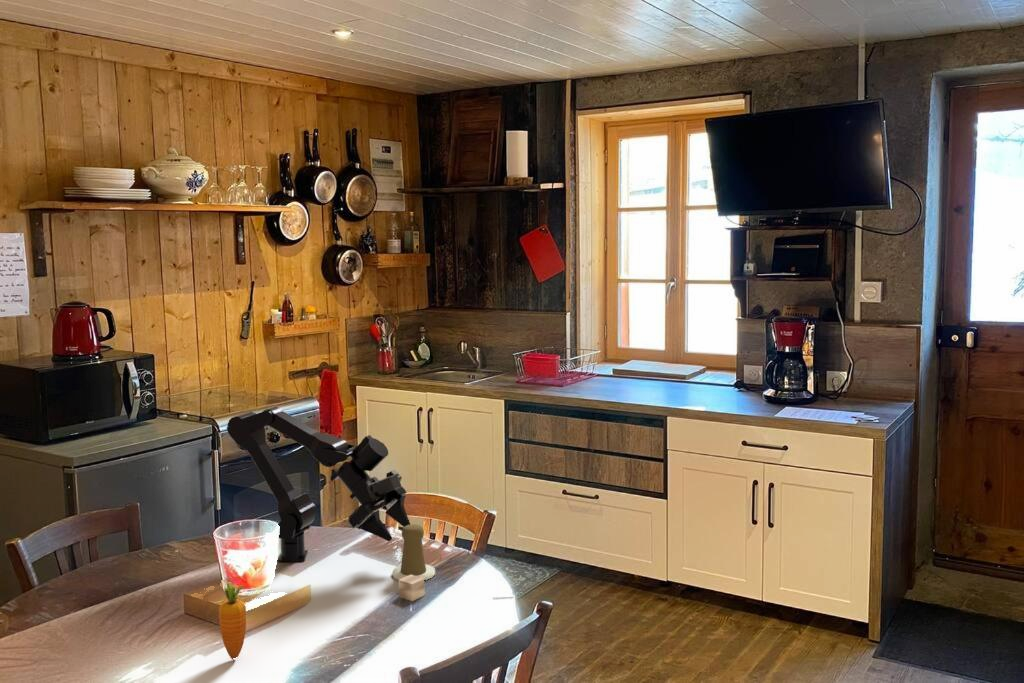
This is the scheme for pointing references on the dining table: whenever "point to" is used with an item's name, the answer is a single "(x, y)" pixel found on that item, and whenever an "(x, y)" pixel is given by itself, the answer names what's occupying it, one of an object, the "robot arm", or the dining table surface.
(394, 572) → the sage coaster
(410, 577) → the marked birch block
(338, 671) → the dining table surface
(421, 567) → the pepper mill
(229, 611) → the carrot
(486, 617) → the dining table surface
